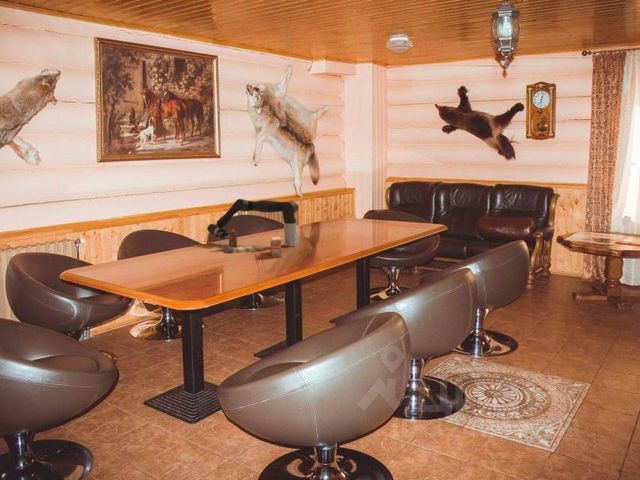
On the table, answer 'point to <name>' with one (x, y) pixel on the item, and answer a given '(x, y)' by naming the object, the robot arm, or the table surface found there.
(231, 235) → the brown pillar with knob
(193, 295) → the table surface
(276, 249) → the stack of blocks
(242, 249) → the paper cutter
